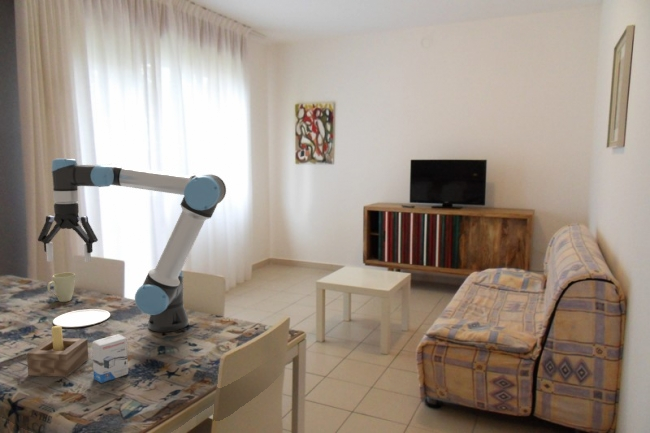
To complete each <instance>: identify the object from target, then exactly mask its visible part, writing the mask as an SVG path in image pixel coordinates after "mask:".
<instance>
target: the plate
mask: <svg viewBox="0 0 650 433" xmlns="http://www.w3.org/2000/svg"><path fill="white" fill-rule="evenodd" d="M110 317H111V313H110V312H109V311H107V310H106V309H98V308H97V309H95V308H89V309H85V308H84V309H77V310H73V311H69V312H65V313H63V314H61V315H60V314H59V315H58V316H56V317H55V318H54V319H53V320H52V324H53V326H58V325H60V326H62V328H64V329H66V328H67V329H69V328H70V329H71V328H73V329H74V328H84V327H89V326H96V325H98V324H101V323H102V322H105V321H106V320H108V319H110Z"/></svg>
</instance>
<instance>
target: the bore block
mask: <svg viewBox="0 0 650 433" xmlns="http://www.w3.org/2000/svg"><path fill="white" fill-rule="evenodd" d="M88 341H89V340H88V338H72V337H71V338H69V337H63V347H64V351H53V341H52V337H51V338H49V339H47V340H46V341H44V342H42V343H41V344H40V345H38V346H36V347H34V348H33V349H32V350H30V351H28V352H27V353H26V360H27V361H26V362H27V375H28V376H37V377H38V376H43V377H44V376H45V377H69V376H70V375H71V374H72V373H73V372H75V371H76V370H77V369H78V368H79V367H81V366H82V365H83V364H84V363H86V362H87V361H88V360H89V346H88Z"/></svg>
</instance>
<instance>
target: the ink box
mask: <svg viewBox="0 0 650 433" xmlns="http://www.w3.org/2000/svg"><path fill="white" fill-rule="evenodd" d="M91 345H92V364H93V365H92V366H93V367H92V368H93V379H94V380H95V381H96V382H98V383H100V384H103V383H106V382H108V381H112V380H114V379H118V378H121V377H123V376H125V375H129V361H128V360H129V359H128V338H127V337H125V336H123V335H122V334H119V333H117V334H114V335H109V336H106V337H104V338H99V339H96V340H93V341H92V342H91Z"/></svg>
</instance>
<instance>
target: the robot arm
mask: <svg viewBox="0 0 650 433" xmlns="http://www.w3.org/2000/svg"><path fill="white" fill-rule="evenodd" d="M51 165H52V166H51V173H52V174H51V176H52V187H53V191H52V192H53V202H54V204H53V211H54V216H53V215H52V214H51V215H46V216H45V223H44V224H43V227H42V228H41V229H42V230H41V231H40V234H39V236H38V237H37V241H38V242H41V243H43V248H44V249H43V250H44V252H45V253H46V262H52V261H54V243H53V241H52V240H53V238H54V237H55V236H56V235H57V234H58V232H59V231H60V230H64V229H67V230H73V231H75V233H76V234H77V235H78V236H79V238H81V239H82V241H83V242H84V243H85V244H84V245H83V256H84V263H85V264H86V263H89V262H91V261H92V260H91V258H92V256H91V253H93V244H94V243H97V242H98V241H99V240H98V238H97V237H98V236H97V235H96V234H95V232H94V230H93V228H92V226H91V224H90V222H89V218H88V216H86V215H85V216H79V203H78V202H79V194H78V193H79V192H78V190H79V189H78V187H98V188H104V187H111V186H117V187H126V188H133V189H140V190H147V191H154V192H160V193H168V194H175V195H181V196H182V195H183V197H182V200H181V202H180V204H179V205H180V208H181V213H180V214H179V217H178V220H177V221H176V223H175V225H174V227H173V229H172V232H171V234H170V237H169V238H168V240H167V242H166V245H165V247H164V249H163V251H162V254H161V256H160V257H159V260H158V262H157V264H156V266H155V268H154V269H153V268H152V269H150V270H149V271H148V273H147V275H146V277H145V279H144V281H143V283H142V285H141V286H140V287H139V288H138V289H137V290H136V292H135V295H134V302H135V304H136V307H137V309H138V310H140V312H142V313H143V314H146V315H148V316H149V318H148V322H147V328H148V329H149V330H150V331H153V332H159V333H169V332H170V333H171V332H175V331H179V329H180V330H182V329H184V328H186V327H188V326H189V325H188V324H189V316H188V314H187V311H186V309H185V307H184V273H183V270H182V269H183V268H184V266H185V263H186V261H187V259H188V257H189V255H190V253H191V251H192V249H193V246H194V244H195V242H196V240H197V238H198V236H199V234H200V232H201V230H202V228H203V226H204V223H205V222H206V220H208V219H211V218H212V217H213V215H214V213H215V210H216V208H217V207H218V204H219V203H221V202H222V201H223V200H224V198H225V196H226V194H227V187H226V186H227V185H226V184H225V182H224V180H223V179H222V178H221V177H220V176H217V175H216V174H197V173H193V174H191V175H184V174H179V173H178V174H177V173H171V172H164V171H157V170H151V169H143V168H136V167H129V166H121V165H118V164H112V163H110V164H78V163H77V160H76V159H75V158H54V159H53V160H52V162H51ZM54 222H55V225H54V226H53V228H52V229H51V227H52V225H53V223H54ZM79 223H81V224H79ZM81 225H82V226H81ZM82 227H83V228H82ZM49 231H50V232H49Z"/></svg>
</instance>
